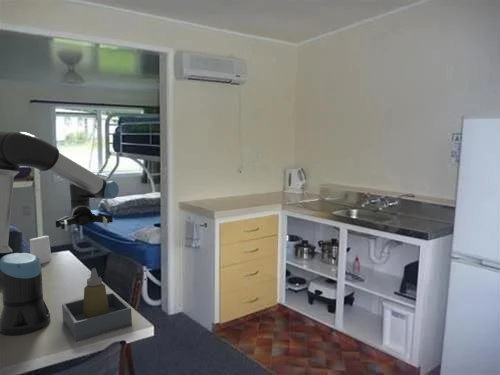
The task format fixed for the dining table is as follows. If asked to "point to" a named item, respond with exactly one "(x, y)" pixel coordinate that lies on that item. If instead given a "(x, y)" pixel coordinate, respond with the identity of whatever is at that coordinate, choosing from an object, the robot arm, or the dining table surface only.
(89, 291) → the squeeze bottle
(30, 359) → the dining table surface
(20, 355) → the dining table surface
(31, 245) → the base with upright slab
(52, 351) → the dining table surface
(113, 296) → the box
